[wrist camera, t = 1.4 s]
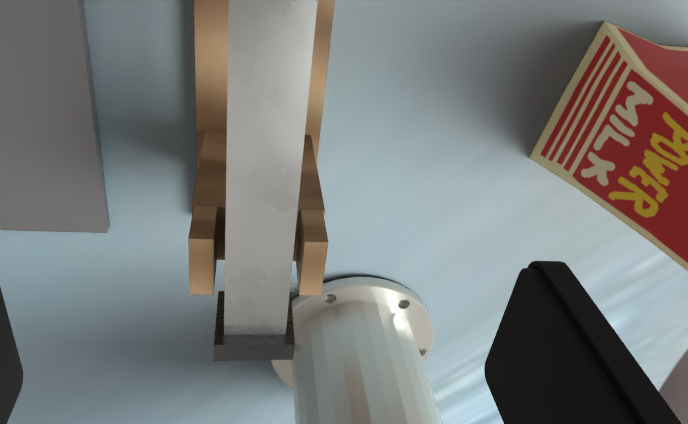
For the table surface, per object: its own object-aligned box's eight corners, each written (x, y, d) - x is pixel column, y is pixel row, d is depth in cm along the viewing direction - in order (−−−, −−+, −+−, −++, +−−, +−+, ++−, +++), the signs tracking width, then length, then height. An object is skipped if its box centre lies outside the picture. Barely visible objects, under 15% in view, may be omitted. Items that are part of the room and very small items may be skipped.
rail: (289, 306, 29) (293, 359, 26) (218, 306, 28) (214, 360, 26) (354, -358, 16) (376, -404, 13) (223, -387, 15) (215, -442, 12)
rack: (308, 218, 37) (325, 349, 28) (199, 215, 36) (178, 350, 26) (365, -303, 23) (439, -401, 14) (190, -338, 22) (139, -472, 12)
